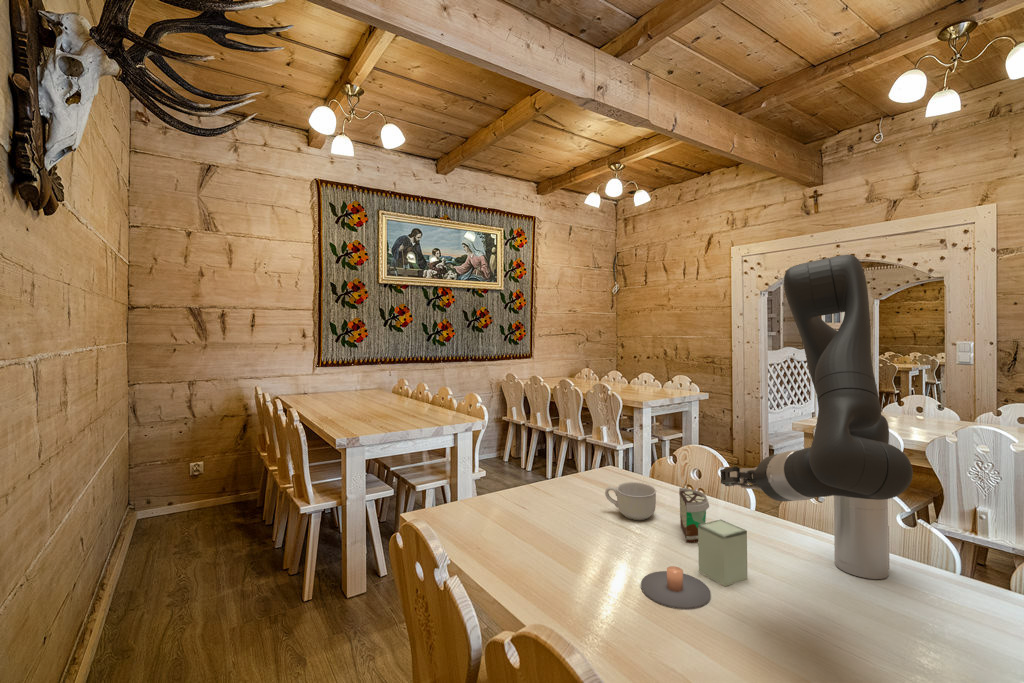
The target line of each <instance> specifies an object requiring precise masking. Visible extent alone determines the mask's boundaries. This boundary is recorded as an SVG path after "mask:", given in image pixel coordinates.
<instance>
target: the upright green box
mask: <svg viewBox="0 0 1024 683" xmlns="http://www.w3.org/2000/svg"><path fill="white" fill-rule="evenodd" d="M697 544H698V545H697V547H698V550H697V551H698V572H699V573H700V574H702V575H704V576H705V577H707V578H709V579H711V580H712V581H714V582H716V583H717V584H719V585H721V586H723V587H726V586H729V585H733V584H736V583H740V582H742V581H746V580H748V530H746V529H744V528H742V527H739V526H737V525H736V524H733V523H730V522H728V521H725V520H723V519H716V520H712V521H709V522H705V523H704V524H700V525H698V542H697Z"/></svg>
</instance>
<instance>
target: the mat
mask: <svg viewBox="0 0 1024 683" xmlns="http://www.w3.org/2000/svg"><path fill="white" fill-rule="evenodd" d="M640 588H641V591H642V592H643V594H644V595H645V596H646V597H647V598H648V599H650V600H651V601H653V602H655V603H657V604H659V605H660V606H661V605H662V606H665V607H667V608H673V609H679V610H694V609H699V608H702V607H704V606H706V605H707V604H708V603H709V602H710V600H711V596H712V595H711V590H710V588H709V586H708V585H707V584H706V583H704V582H703V581H702V580H700V579H698V578H696V577H695V576H693V575H691V574H690V575H689V574H688V573H684V572H683V590H682V591H680V592H675V591H671V590H669V589H668V588H667V570H662V571H660V570H659V571H654V572H650V573H647V575H645V576H643V577H642V579H641V582H640Z"/></svg>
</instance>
